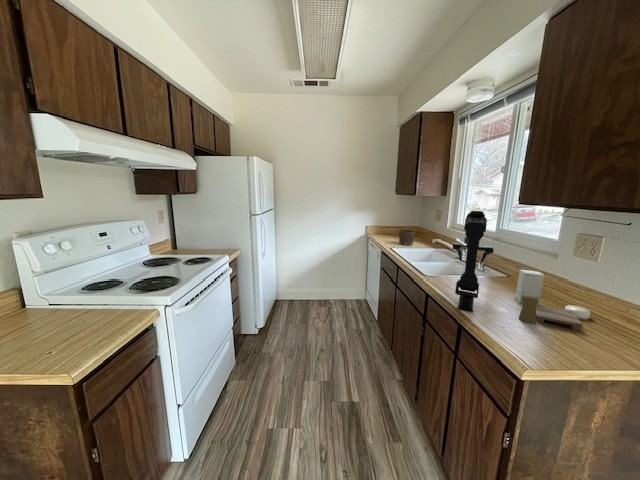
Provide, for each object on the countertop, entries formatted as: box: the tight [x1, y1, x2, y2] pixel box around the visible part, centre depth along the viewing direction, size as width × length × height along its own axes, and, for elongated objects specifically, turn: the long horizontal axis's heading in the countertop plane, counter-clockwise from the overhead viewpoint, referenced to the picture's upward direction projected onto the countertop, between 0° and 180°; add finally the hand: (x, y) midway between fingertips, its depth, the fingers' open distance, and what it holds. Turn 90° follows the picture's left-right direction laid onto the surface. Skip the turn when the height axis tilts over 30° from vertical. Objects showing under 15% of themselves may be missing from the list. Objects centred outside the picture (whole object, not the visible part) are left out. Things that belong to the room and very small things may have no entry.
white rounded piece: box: [564, 304, 591, 320], centre depth 117 cm, size 8×8×3 cm
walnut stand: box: [536, 304, 584, 332], centre depth 112 cm, size 14×14×3 cm
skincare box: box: [514, 269, 545, 305], centre depth 130 cm, size 8×7×16 cm
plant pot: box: [398, 229, 417, 247], centre depth 261 cm, size 16×16×16 cm
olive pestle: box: [518, 295, 540, 325], centre depth 111 cm, size 6×6×11 cm
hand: (470, 263), depth 143 cm, fingers open, 9 cm apart
